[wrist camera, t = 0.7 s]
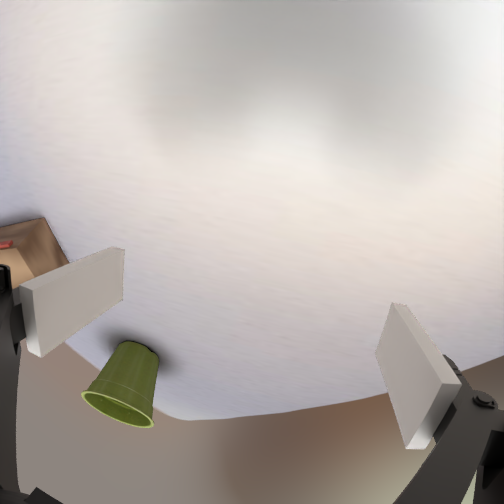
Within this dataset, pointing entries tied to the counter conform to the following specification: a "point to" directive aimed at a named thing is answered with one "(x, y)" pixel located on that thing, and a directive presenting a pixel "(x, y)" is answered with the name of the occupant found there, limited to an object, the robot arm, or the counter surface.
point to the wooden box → (29, 250)
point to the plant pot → (126, 385)
